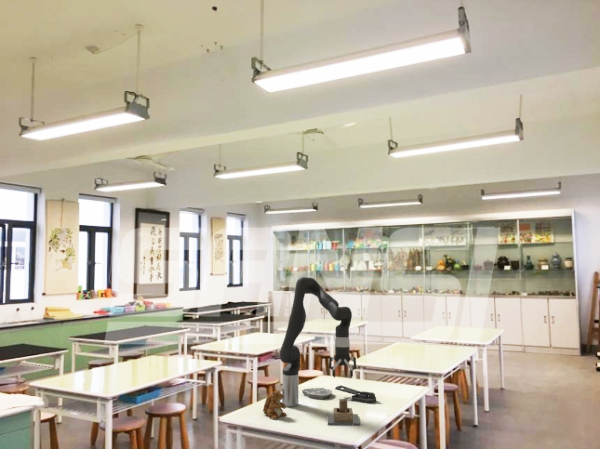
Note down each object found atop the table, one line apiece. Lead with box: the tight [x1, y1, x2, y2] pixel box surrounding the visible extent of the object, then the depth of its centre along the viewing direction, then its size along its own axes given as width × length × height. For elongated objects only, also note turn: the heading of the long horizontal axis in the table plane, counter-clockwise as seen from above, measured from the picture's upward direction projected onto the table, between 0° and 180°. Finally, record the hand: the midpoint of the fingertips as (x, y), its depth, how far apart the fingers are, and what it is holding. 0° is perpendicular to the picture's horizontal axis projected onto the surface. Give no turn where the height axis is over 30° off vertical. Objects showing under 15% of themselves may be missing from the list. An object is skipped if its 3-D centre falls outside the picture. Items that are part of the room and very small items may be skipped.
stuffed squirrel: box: [262, 389, 287, 420], centre depth 254 cm, size 10×14×13 cm
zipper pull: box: [334, 385, 377, 405], centre depth 286 cm, size 9×7×25 cm
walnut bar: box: [338, 398, 348, 412], centre depth 245 cm, size 4×4×9 cm
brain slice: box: [301, 387, 333, 400], centre depth 296 cm, size 20×17×3 cm
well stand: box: [326, 407, 361, 426], centre depth 245 cm, size 16×16×5 cm
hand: (342, 377), depth 247 cm, fingers open, 8 cm apart
